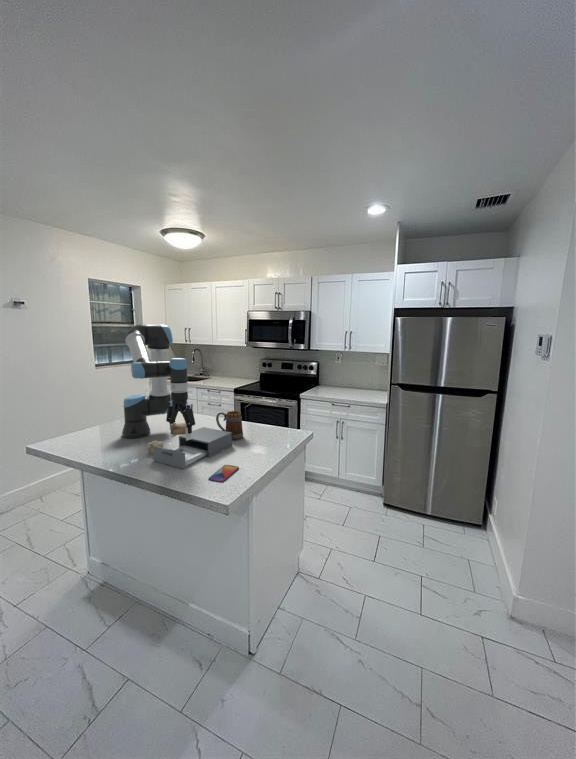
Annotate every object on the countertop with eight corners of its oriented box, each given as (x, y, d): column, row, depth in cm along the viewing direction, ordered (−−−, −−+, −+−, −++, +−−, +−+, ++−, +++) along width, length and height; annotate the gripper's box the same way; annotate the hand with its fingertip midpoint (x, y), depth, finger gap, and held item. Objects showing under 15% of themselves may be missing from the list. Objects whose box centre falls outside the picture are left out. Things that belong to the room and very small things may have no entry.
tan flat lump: (166, 433, 149) (166, 426, 148) (181, 428, 156) (180, 422, 156) (180, 435, 144) (180, 429, 144) (194, 430, 152) (194, 424, 152)
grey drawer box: (209, 457, 155) (208, 442, 154) (179, 449, 164) (178, 435, 163) (232, 446, 171) (231, 432, 170) (203, 439, 180) (203, 427, 179)
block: (148, 452, 160) (147, 443, 159) (156, 449, 164) (155, 440, 163) (155, 454, 157) (154, 445, 157) (163, 451, 162) (162, 442, 161)
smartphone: (207, 481, 131) (207, 479, 131) (225, 466, 145) (225, 464, 145) (223, 484, 129) (223, 481, 129) (239, 468, 143) (239, 466, 143)
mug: (245, 435, 189) (244, 410, 187) (240, 440, 179) (240, 415, 177) (219, 434, 191) (219, 409, 189) (213, 439, 181) (213, 414, 178)
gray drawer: (183, 469, 140) (182, 454, 139) (152, 460, 149) (151, 446, 148) (209, 456, 156) (209, 442, 155) (180, 449, 164) (180, 436, 163)
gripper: (156, 390, 149) (158, 436, 153) (190, 394, 140) (192, 444, 143) (169, 388, 156) (171, 432, 159) (202, 392, 146) (204, 439, 149)
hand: (181, 438), depth 151 cm, fingers closed on tan flat lump, 9 cm apart
